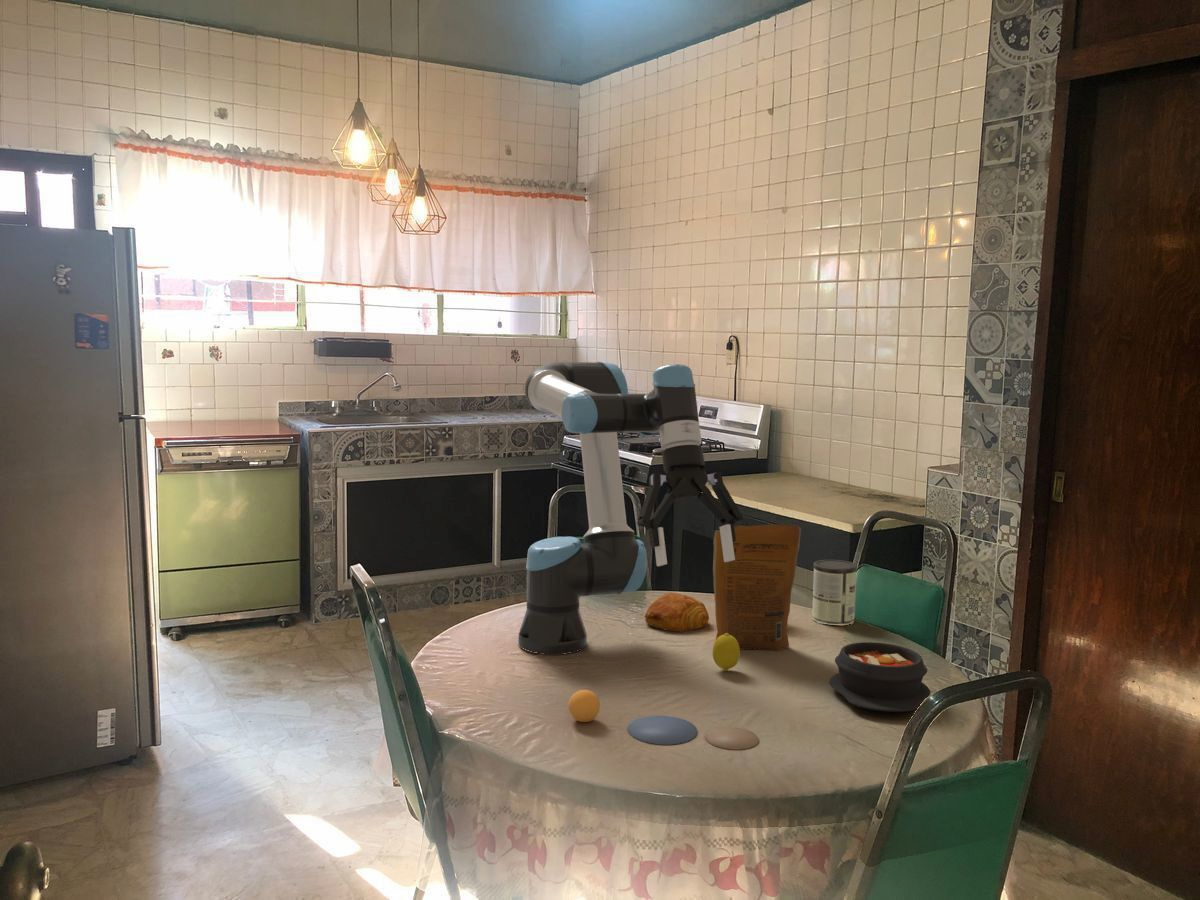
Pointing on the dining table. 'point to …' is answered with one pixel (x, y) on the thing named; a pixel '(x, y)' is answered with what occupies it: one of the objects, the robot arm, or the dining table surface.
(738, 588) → the pancake mix bag
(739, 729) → the disc
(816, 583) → the coffee can
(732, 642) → the lemon
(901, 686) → the casserole
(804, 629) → the dining table surface
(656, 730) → the disc
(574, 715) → the ball
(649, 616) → the croissant
